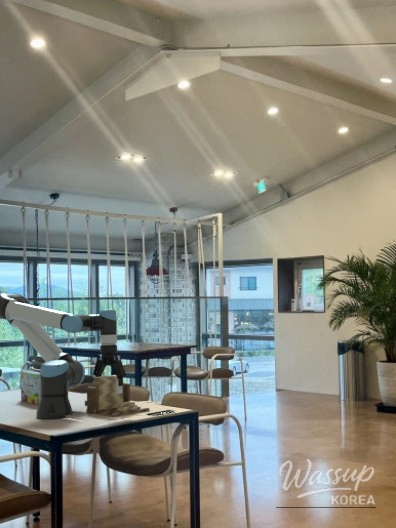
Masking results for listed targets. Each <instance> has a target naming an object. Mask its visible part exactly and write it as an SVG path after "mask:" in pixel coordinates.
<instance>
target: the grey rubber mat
mask: <svg viewBox="0 0 396 528" xmlns="http://www.w3.org/2000/svg"><path fill="white" fill-rule="evenodd" d="M174 411H175V410H173V409H166V410H160V411H156V412H150V413H149V412H148V413H146V414H147V415H146V416H150V415H157V416H159V415H158V414H161V412H162V415H164V414H163V413H164V412H166V413H168V412H173V413H175V412H174ZM168 414H169V413H168Z"/></svg>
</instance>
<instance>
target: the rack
mask: <svg viewBox="0 0 396 528" xmlns="http://www.w3.org/2000/svg"><path fill="white" fill-rule="evenodd" d="M86 400H87V406H86V410H85V412H84V414H87V415H88V414H89V415H95V416H101V417H108V418H115V417H122V416H128V415H129V416H130V415H134V414H139V413H140V414H141V413H146V412H150V411H151V410H150V408H149V407H145V408H141V406H138V410H131V411H125V412H119V413H116V410H118V407H115V408H109V409H102V410H98V388H97V387H94V386H87V387H86ZM128 401H131V383H127V382H123V402H128Z"/></svg>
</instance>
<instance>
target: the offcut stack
mask: <svg viewBox="0 0 396 528" xmlns="http://www.w3.org/2000/svg"><path fill="white" fill-rule="evenodd" d="M138 405H139V404H136V402H135V401H131V400H130V401H128V402H120V403H116V407H118V410H116V413H119V412H125V411H131V410H138V407H139V406H138Z"/></svg>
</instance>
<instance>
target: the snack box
mask: <svg viewBox="0 0 396 528" xmlns="http://www.w3.org/2000/svg"><path fill="white" fill-rule="evenodd" d="M20 396H21V397H20V401H22V402H25V403H29V404H32V405H34V406H35V405H36V406H39V402H40V399H41V374H40V371H35V370H29V369H28V370H20Z"/></svg>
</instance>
